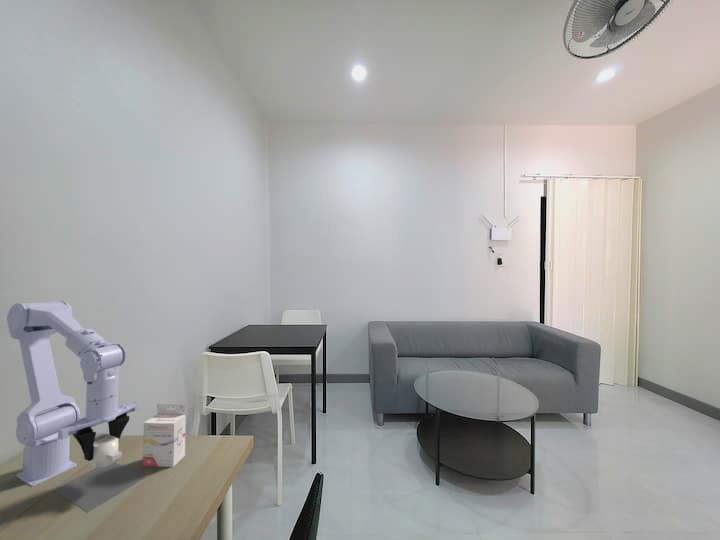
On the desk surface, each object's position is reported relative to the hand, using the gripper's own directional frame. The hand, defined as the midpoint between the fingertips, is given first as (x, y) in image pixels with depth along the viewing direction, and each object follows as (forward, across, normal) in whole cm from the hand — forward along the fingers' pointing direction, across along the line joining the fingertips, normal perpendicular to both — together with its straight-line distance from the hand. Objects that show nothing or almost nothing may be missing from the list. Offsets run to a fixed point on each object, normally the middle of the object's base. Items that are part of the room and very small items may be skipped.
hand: (101, 453), depth 65 cm
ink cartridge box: (+8, +11, -6) cm, 15 cm away
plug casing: (+1, 0, -1) cm, 2 cm away
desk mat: (+7, 0, 0) cm, 7 cm away
